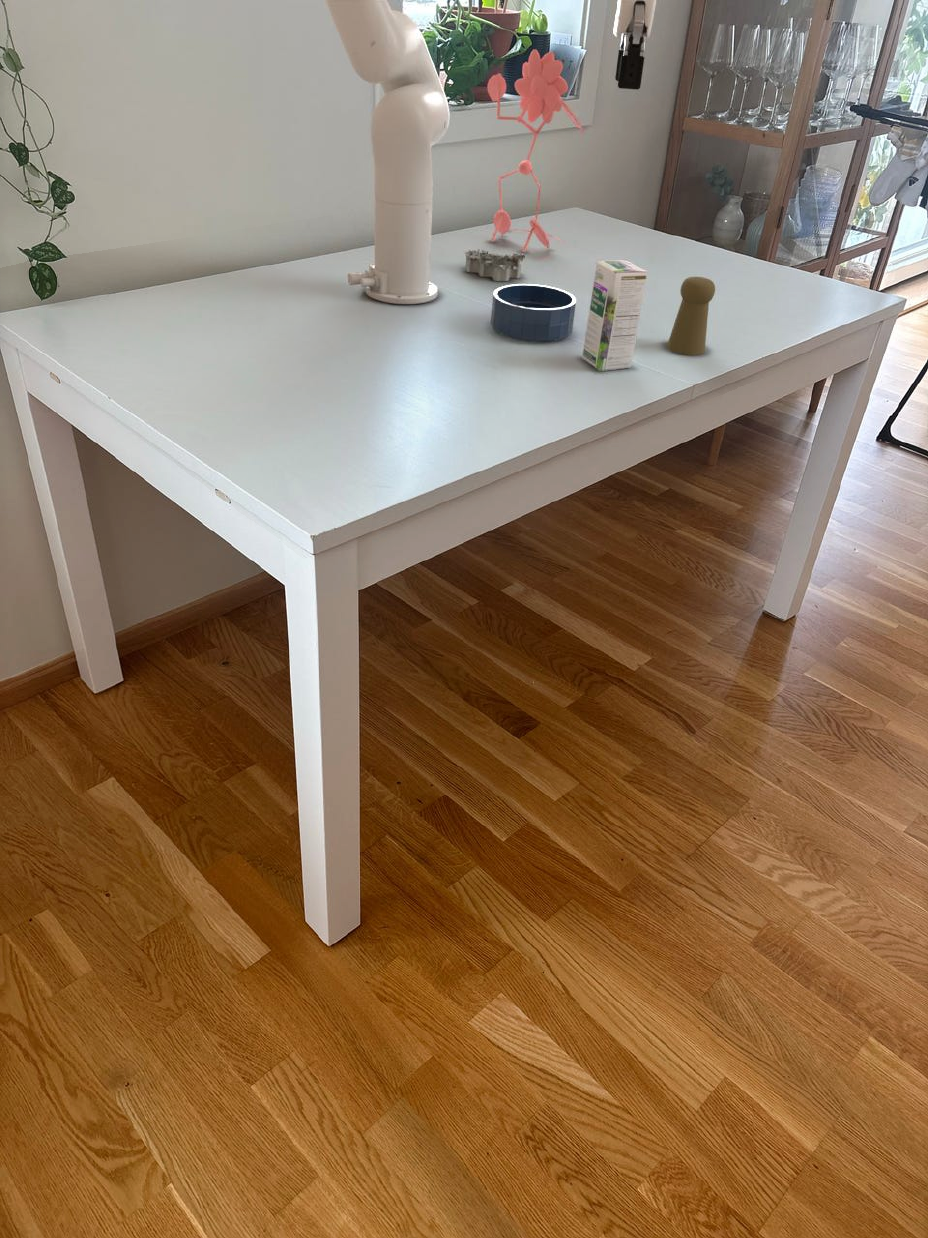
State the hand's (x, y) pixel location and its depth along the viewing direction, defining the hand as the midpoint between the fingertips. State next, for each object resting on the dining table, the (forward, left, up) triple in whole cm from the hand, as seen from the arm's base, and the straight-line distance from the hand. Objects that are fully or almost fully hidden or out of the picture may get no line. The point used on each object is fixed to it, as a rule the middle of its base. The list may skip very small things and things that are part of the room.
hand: (627, 84), depth 138 cm
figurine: (+16, +48, -35) cm, 61 cm away
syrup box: (-9, -17, -35) cm, 40 cm away
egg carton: (-3, +30, -35) cm, 46 cm away
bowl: (-13, -1, -35) cm, 37 cm away
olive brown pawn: (+7, -16, -35) cm, 39 cm away
